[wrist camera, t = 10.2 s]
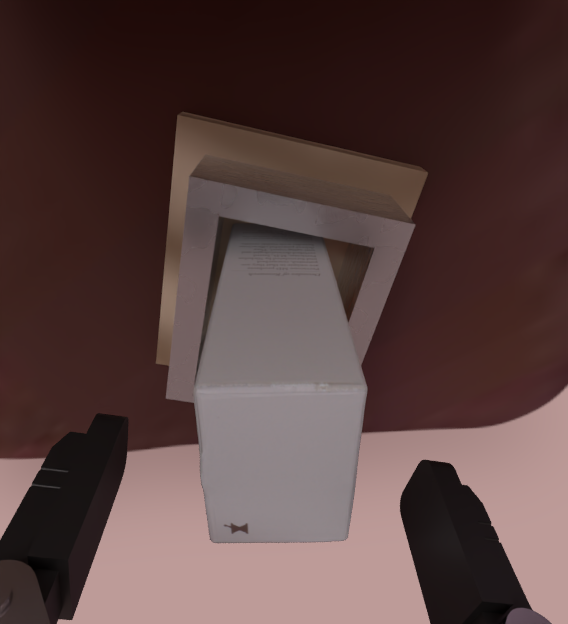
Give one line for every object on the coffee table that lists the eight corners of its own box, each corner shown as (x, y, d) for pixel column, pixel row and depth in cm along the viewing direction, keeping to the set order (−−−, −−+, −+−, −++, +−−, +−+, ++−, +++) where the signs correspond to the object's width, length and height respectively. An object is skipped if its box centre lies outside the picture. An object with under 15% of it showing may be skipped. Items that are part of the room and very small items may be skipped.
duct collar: (205, 154, 18) (189, 176, 15) (390, 195, 20) (415, 224, 16) (181, 348, 24) (165, 398, 20) (329, 373, 25) (338, 424, 21)
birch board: (182, 111, 19) (177, 114, 18) (420, 166, 20) (428, 172, 19) (160, 351, 25) (155, 363, 24) (342, 380, 26) (344, 393, 25)
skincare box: (316, 328, 23) (349, 547, 13) (236, 328, 23) (205, 549, 13) (322, 218, 20) (374, 389, 10) (230, 218, 20) (183, 390, 10)
